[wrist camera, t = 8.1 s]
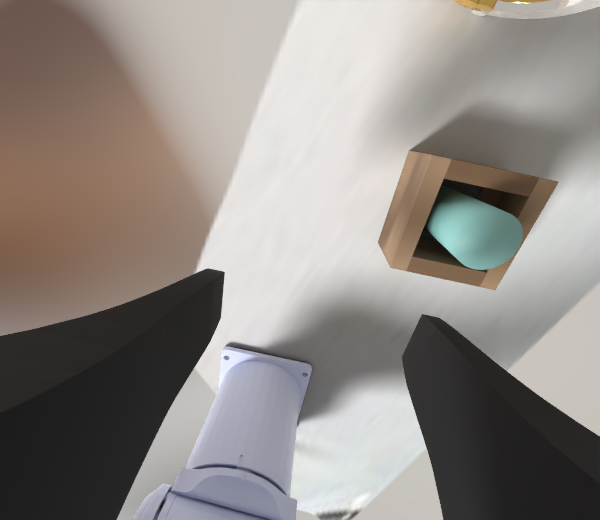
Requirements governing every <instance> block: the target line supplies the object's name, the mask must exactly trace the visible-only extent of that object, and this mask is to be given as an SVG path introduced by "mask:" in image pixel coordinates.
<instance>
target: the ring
mask: <svg viewBox="0 0 600 520" xmlns="http://www.w3.org/2000/svg"><path fill="white" fill-rule="evenodd" d="M453 1H455V2H456V3H458V4H460V5H462V6H465V7H467V8H469V9H470V12H471V13H473V14H475V15H478V16H486V14H487V15H491V16H497V17H503V18H513V19H540V18H551V17H558V16H564V15H570V14H574V13H579V12H583V11H586V10H590V9H593V8H596V7H599V6H600V0H453Z"/></svg>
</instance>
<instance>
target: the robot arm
mask: <svg viewBox="0 0 600 520" xmlns="http://www.w3.org/2000/svg"><path fill="white" fill-rule="evenodd" d="M224 273H225V272H222V271H217V270H213V269H205V270H203V271H200V272H198V273H196V274H193V275H191V276H189V277H187V278H185V279H183V280H180V281H178V282H176V283H174V284H172V285H169V286H167V287H165V288H163V289H160V290H158V291H155V292H153V293H150V294H148V295H146V296H143V297H140V298H138V299H135V300H133V301H130V302H127V303H125V304H122V305H119V306H116V307H113V308H110V309H107V310H104V311H100V312H97V313H94V314H91V315H88V316H84V317H80V318H76V319H73V320H68V321H64V322H60V323H57V324H52V325H48V326H44V327H40V328H37V329H32V330H27V331H23V332H18V333H13V334H8V335H4V336H0V520H116V519H117V517H118V515H119V513H120V511H121V509H122V506H123V504H124V502H125V499H126V497H127V495H128V493H129V491H130V489H131V486H132V484H133V482H134V480H135V478H136V476H137V474H138V472H139V470H140V467H141V465H142V463H143V461H144V459H145V457H146V455H147V453H148V451H149V448H150V446H151V444H152V442H153V440H154V438H155V436H156V434H157V432H158V430H159V428H160V426H161V424H162V422H163V420H164V418H165V416H166V414H167V412H168V410H169V408H170V407H171V405H172V403H173V401H174V400H175V398H176V396H177V395H178V393H179V391H180V390H181V388H182V387H183V385H184V383H185V382H186V380H187V378H188V377H189V375H190V374H191V372H192V370H193V369H194V367H195V366H196V364H197V362H198V361H199V359H200V357H201V356H202V354H203V353H204V351H205V349H206V348H207V346H208V344H209V343H210V341H211V339H212V336H213V334H214V332H215V330H216V328H217V325H218V323H219V321H220V318H221V308H222V296H223V284H224ZM227 356H228V357H227ZM402 359H403V366H404V372H405V378H406V383H407V387H408V390H409V393H410V397H411V400H412V403H413V406H414V409H415V413H416V416H417V419H418V422H419V425H420V428H421V431H422V434H423V438H424V441H425V444H426V447H427V450H428V453H429V457H430V460H431V464H432V468H433V472H434V477H435V481H436V486H437V491H438V495H439V499H440V504H441V509H442V514H443V520H600V436H598V435H596V434H595V433H593V432H592V431H590V430H589V429H587V428H586V427H584V426H582V425H581V424H579V423H578V422H576V421H575V420H573V419H572V418H570V417H569V416H567V415H566V414H565V413H563V412H562V411H560V410H559V409H557V408H556V407H554V406H553V405H551V404H550V403H548V402H547V401H546V400H544V399H543V398H541V397H540V396H539V395H537V394H536V393H534V392H533V391H532V390H530V389H529V388H528V387H526V386H525V385H524V384H523V383H521V382H520V381H518V380H517V379H516V378H515V377H513V376H512V375H511V374H509V373H508V372H507V371H506V370H504V369H503V368H502V367H501V366H499V365H498V364H497V363H495V362H494V361H493V360H492V359H491V358H489V357H488V356H487V355H486V354H484V353H483V352H482V351H481V350H480V349H478V348H477V347H476V346H475V345H473V344H472V343H471V342H470V341H469V340H467V339H466V338H465V337H464V336H463V335H461V334H460V333H459V332H458V331H456V330H455V329H454V328H453V327H451V326H450V325H449V324H447V323H446V322H444V321H443V320H441V319H440V318H437V317H432V316H428V315H423V314H422V316H421V318H420V320H419V322H418V324H417V326H416V329H415V331H414V333H413V335H412V337H411V339H410V341H409V343H408V345H407V348H406V350H405V352H404V354H403V356H402ZM311 372H312V366H311V365H310V364H308V363H303V362H299V361H294V360H289V359H285V358H280V357H275V356H271V355H266V354H261V353H257V352H252V351H247V350H243V349H238V348H233V347H228V346H226V347H224V348H223V350H222V352H221V362H220V373H219V384H218V392H217V395H216V397H215V399H214V402H213V404H212V406H211V409H210V411H209V414H208V416H207V418H206V421H205V423H204V425H203V428H202V430H201V432H200V435H199V437H198V439H197V442H196V444H195V447H194V449H193V451H192V454H191V456H190V458H189V461H188V463H187V465H186V468H185V467H182V468H181V469H180V472H179V474H178V476H177V479H176V481H175V483H174V485H173V488H172V486H171V485H167V484H162V485H160V486H159V487H158V489H156V490H154V491H153V492H151V493H150V494H149V495H147V497H146V498H145V499H144V501H143V502H142V504H141V505H140V507H139V508H138V510H137V512H136V514H135V515H134V517H133V519H132V520H296V508H297V500H296V499H293V498H290V487H291V478H292V468H293V458H294V448H295V438H296V429H297V420H298V417H299V413H300V410H301V406H302V403H303V400H304V396H305V393H306V389H307V386H308V383H309V379H310V376H311Z"/></svg>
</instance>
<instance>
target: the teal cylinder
mask: <svg viewBox="0 0 600 520" xmlns="http://www.w3.org/2000/svg"><path fill="white" fill-rule="evenodd" d="M424 228H425V229H426V230H427V231H428V232H429V233H430V234H431V235H432V236H433V237H435V238H436V239H437V240H438V241H439V242H440V243H441V244H442V245H443V246H444V247H445V248H446V249H447V250H448V251H449V252H450V253H451V254H452V255H453V256H454V257H456V258H457V259H458V260H459V261H460V262H461V263H462V264H463V265H465V266H466V267H469V268H472V269H476V270H486V269H491V268H494V267H497V266H499V265H501V264H503V263H505V262H506V261H508V260H509V259H510V258H511V257H512V256H513V255H514V254H515V253H516V252H517V250H518V249H519V247H520V245H521V242H522V238H523V229H522V225H521V223H520V222H519V220H518V219H517V218H516V217H515V216H513V215H512V214H510V213H507V212H505V211H503V210H500V209H498V208H496V207H493V206H491V205H489V204H486V203H484V202H482V201H479V200H477V199H475V198H472V197H470V196H468V195H465V194H463V193H461V192H458V191H456V190H454V189H451V188H449V187H440V189H439V191H438V194H437V196H436V199H435V201H434V204H433V206H432V209H431V211H430V214H429V216H428V218H427V221H426V223H425V226H424Z"/></svg>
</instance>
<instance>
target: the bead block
mask: <svg viewBox="0 0 600 520" xmlns="http://www.w3.org/2000/svg"><path fill="white" fill-rule="evenodd" d="M443 179H448V180H453V181H458V182H462V183H467V184H472V185H476V186H481V187H484V188H483V190H482V192H481V194H480V196H479V198H478V200H479V201H482V202H484V203H486V204H489V205H491V206H493V207H496V208H498V209H500V210H503V211H505V212H507V213H510V214H512V215H513V216H515V217H516V218H517V219H518V220H519V222H520V223H521V225H522V229H523V238H522V242H521V245H520V247H521V246H522V244H523V242H524V240H525V239H526V237H527V235H528V234H529V232H530V230H531V228H532V227H533V225H534V223H535V222H536V220H537V218H538V217H539V215H540V213H541V211H542V210H543V208H544V206H545V205H546V203H547V201H548V199H549V198H550V196H551V194H552V193H553V191H554V189H555V188H556V186H557V184H558V182H557V181H552V180H548V179H543V178H538V177H534V176H529V175H524V174H520V173H515V172H510V171H506V170H501V169H496V168H492V167H487V166H482V165H478V164H473V163H468V162H464V161H459V160H454V159H450V158H445V157H440V156H436V155H431V154H425V153H420V152H414V151H409V153H408V156H407V159H406V162H405V165H404V167H403V170H402V173H401V176H400V179H399V182H398V185H397V188H396V191H395V194H394V197H393V200H392V203H391V206H390V209H389V212H388V214H387V217H386V220H385V223H384V226H383V229H382V232H381V235H380V238H379V241H378V243H379V245H380V247H381V249H382V251H383V253H384V256H385V258H386V260H387V262H388V264H389V266H390V268H395V269H399V270H404V271H409V272H413V273H418V274H423V275H427V276H432V277H437V278H441V279H446V280H451V281H455V282H460V283H465V284H469V285H474V286H479V287H483V288H488V289H493V290H496V288H497V286H498V285H499V283H500V281H501V280H502V278H503V276H504V274H505V273H506V271H507V269H508V268H509V266H510V264H511V263H512V261H513V259H514V257H515V256H516V254H517V252H518V251H519V249H520V247H519V249H518V250H517V252H516V253H515V254H514V255H513V256H512V257H511V258H510V259H509V260H508V261H506V262H505V263H503V264H501V265H499V266H497V267H494V268H491V269H486V270H476V269H472V268H469V267H466V266H465V265H463V264H462V263H461V262H460V261H459V260H458V259H457V258H456V257H454V256H453V255H452V254H451V253H450V252H449V251H448V250H447V249H446V248H445V247H444V246H443V245H442V244H441V243H440V242H436V241H431V240H426V239H422V238H420V236H421V233H422V231H423V228H424V226H425V223H426V221H427V218H428V216H429V214H430V211H431V209H432V206H433V204H434V201H435V199H436V196H437V194H438V191H439V189H440V187H441V184H442V182H443Z"/></svg>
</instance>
